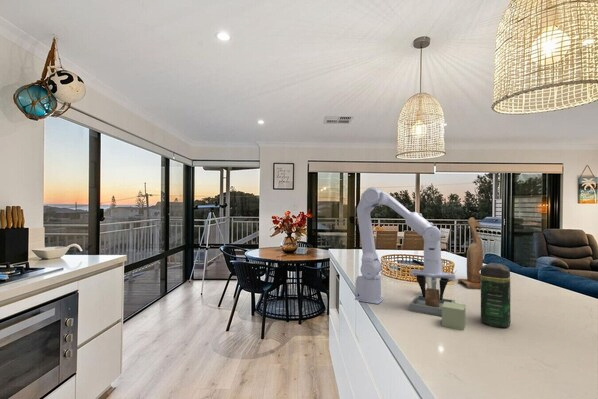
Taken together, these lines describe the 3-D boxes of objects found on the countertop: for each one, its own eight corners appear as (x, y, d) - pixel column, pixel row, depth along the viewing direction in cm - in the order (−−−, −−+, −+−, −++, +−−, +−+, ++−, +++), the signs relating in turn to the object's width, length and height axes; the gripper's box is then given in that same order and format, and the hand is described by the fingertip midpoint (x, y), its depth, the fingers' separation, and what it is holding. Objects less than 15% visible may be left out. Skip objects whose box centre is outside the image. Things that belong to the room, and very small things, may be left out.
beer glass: (445, 299, 119) (445, 261, 119) (426, 298, 121) (426, 261, 121) (441, 294, 126) (440, 258, 126) (423, 293, 127) (422, 258, 128)
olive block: (442, 326, 93) (441, 306, 94) (444, 319, 98) (444, 301, 99) (464, 330, 90) (463, 310, 90) (465, 323, 95) (465, 304, 95)
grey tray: (409, 310, 107) (409, 303, 107) (417, 301, 118) (417, 294, 118) (450, 318, 100) (450, 310, 100) (454, 307, 111) (454, 300, 111)
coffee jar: (509, 330, 90) (508, 267, 90) (478, 324, 95) (477, 264, 95) (512, 321, 97) (511, 263, 98) (483, 315, 102) (483, 260, 103)
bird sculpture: (494, 290, 134) (495, 218, 135) (467, 289, 135) (468, 217, 135) (481, 284, 145) (481, 217, 146) (455, 283, 146) (457, 216, 147)
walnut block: (425, 307, 108) (425, 290, 108) (427, 304, 111) (427, 287, 111) (437, 309, 106) (437, 292, 106) (439, 306, 109) (439, 289, 109)
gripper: (408, 259, 110) (409, 297, 109) (453, 263, 102) (453, 304, 102) (413, 256, 116) (413, 292, 115) (455, 260, 108) (456, 299, 107)
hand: (432, 297), depth 109 cm, fingers open, 5 cm apart
